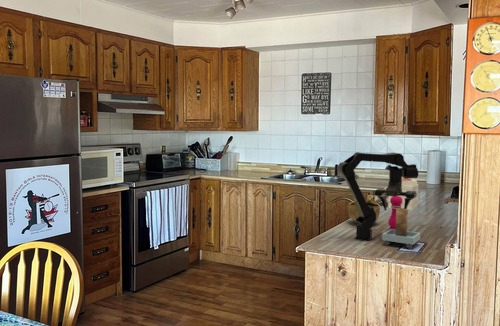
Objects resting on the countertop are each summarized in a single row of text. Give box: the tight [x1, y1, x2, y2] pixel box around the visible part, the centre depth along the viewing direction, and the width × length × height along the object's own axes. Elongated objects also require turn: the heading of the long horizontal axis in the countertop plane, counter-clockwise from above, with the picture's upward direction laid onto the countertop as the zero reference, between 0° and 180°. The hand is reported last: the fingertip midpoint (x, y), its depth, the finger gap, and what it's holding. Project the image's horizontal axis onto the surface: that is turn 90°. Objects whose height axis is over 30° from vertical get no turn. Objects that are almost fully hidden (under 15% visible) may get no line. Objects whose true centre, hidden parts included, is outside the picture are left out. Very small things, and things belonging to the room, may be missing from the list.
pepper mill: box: [387, 195, 403, 230], centre depth 247 cm, size 7×7×20 cm
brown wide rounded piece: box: [347, 194, 381, 223], centre depth 264 cm, size 22×17×15 cm
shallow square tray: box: [381, 229, 422, 250], centre depth 222 cm, size 14×12×5 cm
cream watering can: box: [374, 177, 420, 211], centre depth 316 cm, size 19×30×18 cm, turn 56°
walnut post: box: [396, 208, 409, 237], centre depth 222 cm, size 5×5×13 cm
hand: (395, 211), depth 233 cm, fingers open, 9 cm apart
